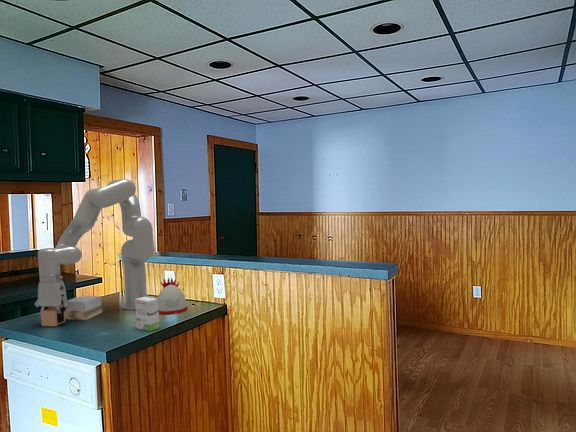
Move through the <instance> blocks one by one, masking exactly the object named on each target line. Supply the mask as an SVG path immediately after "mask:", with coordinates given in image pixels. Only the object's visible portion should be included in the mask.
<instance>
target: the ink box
mask: <svg viewBox="0 0 576 432" xmlns="http://www.w3.org/2000/svg"><path fill="white" fill-rule="evenodd" d="M135 307H136V309H135V322H136V323H135V324H136V329H138V330H143V331H147V332H152V331H156V330H158V329H160V314H159V311H158V299H157V298H156V297H154V298H153V297H150V296H149V297H141V298H136V299H135Z"/></svg>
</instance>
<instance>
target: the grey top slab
mask: <svg viewBox="0 0 576 432" xmlns="http://www.w3.org/2000/svg"><path fill="white" fill-rule="evenodd" d="M67 300H68V301H69V303H70V305H69V306H68V307H67V309H66V310H67V311H88V310H90V309H93V308H95V307H98V306H100V305H102V296H101V295H80V296H77V297H74V298H71V299H67Z"/></svg>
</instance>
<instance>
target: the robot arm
mask: <svg viewBox="0 0 576 432" xmlns="http://www.w3.org/2000/svg"><path fill="white" fill-rule="evenodd" d="M136 190H137V187H136V185H135V183H134V182H133V180H130V179H128V178H127V179H126V178H122V179H113V180H111V181H109V182H108V183H107V184H106V186H104V187H100V188H91V189H89V190H87V191H86V192H85V194H84V195H83V197H82V200H81V202H80V203H79V206H78V208H77V210H76V212H75V214H74V216H73V219H72V220H71V222H69V224H68V226H66V228H65V230H63V233H62V234H61V235H60V237H59V239H58V241H57V244H56V246H55V247H46V248H45V247H44V248H41V249H39V250H38V251H37V260H38V271H39V272H38V273H39V274H38V275H39V282H38V287H37V300H36V301H35V302H34V306H35V307H36V308H37V309H38V310H39V311H40V313H41V311H43V310H46V309H48V308H51V307H56V309H57V311H58V313H57V322H58V323H61V322H63V321H64V312H65V310H66V309H67V307H68V306H69V305H70V303H69V301H68V300H69V299H68V298H67V297H68V296H67V290H66V286H65V283H64V281H63V278H64V277H63V275H61V274H62V273H61V265H74V264H76V263H78V262H79V261H81V259H82V257H83V256H82V255H83V252H82V251H81V249H80V248H79V247H77V245H78V242H79V241H80V239H81V238H82V237H83V236H84V235H85V234H86V233H88V232H90V231H91V230H92V229H93V228H94V226H95V224H96V222H97V220H98V218H99V216H100V212H101V211H102V209H105V208H109V207H112V206H114V205H117V204H119V207H120V211H121V212H120V213H121V226H122V227H121V228H122V232H123V234H124V235H125V236H127V237H130V238H132V239H128V240H126V241H125V242H124V243H123V244H122V246H121V249H120V251H121V252H120V253H121V259H122V263H123V276H124V277H123V278H124V299H125V302H124V303H123V304H122V305H121V308H122V309H123V310H128V311H130V310H131V311H133V310H135V311H136V307H135V299H136V298H141V297H150V296H149V295H148V294H147V273H146V272H147V271H146V263H145V262H147V261H149V260H150V259H151V258H152V257H153V255H154V249H155V248H154V233H153V230H154V229H153V226H152V223H151V221H150V220H149V219H148V218H147V217H144V216H142V211H141V210H142V209H141V204H140V200H139V198H138V196H137V195H136V192H137V191H136ZM60 308H61V309H60ZM63 323H64V322H63ZM61 324H62V323H61Z"/></svg>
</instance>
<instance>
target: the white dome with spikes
mask: <svg viewBox="0 0 576 432" xmlns="http://www.w3.org/2000/svg"><path fill="white" fill-rule="evenodd" d="M166 281H167V282H166ZM176 282H177V279H174V280H173V277H171V278H169V277H168V278H167V280H166V279H165V278H163V282H162V281H160V284H161V286H162V287H163V288H162V289H161V290H160V292H159V294H157V298H156V299H158V311H159V316H160V315H161V316H170V315H171V316H172V315H178V314H182V313H184V312H187V311H188V302H187V299H186V297H185V294H184V293H183V291H182V290H181V288H180V287H179V285H180V281H178V282H177V283H176Z"/></svg>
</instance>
